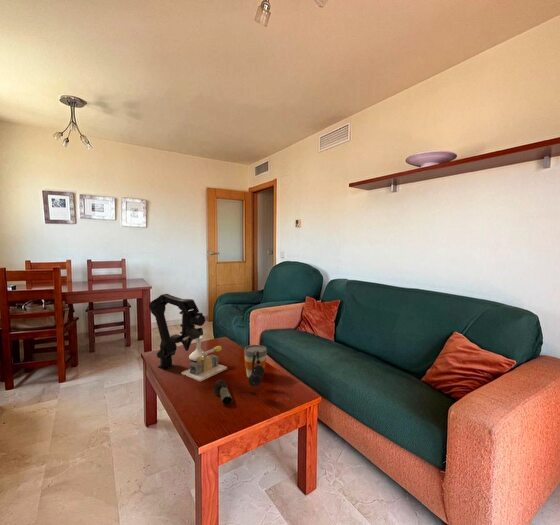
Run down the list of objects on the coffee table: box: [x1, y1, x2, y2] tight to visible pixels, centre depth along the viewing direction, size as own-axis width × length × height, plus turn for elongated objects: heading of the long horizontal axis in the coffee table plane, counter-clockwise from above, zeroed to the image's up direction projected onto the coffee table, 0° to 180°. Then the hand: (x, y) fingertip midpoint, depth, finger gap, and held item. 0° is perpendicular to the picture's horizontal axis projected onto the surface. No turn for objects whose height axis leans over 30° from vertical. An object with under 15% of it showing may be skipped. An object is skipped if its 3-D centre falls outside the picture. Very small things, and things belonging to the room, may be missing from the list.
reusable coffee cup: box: [243, 344, 268, 378], centre depth 162 cm, size 13×13×15 cm
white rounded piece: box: [188, 325, 209, 362], centre depth 181 cm, size 13×11×25 cm
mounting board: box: [181, 363, 228, 383], centre depth 165 cm, size 15×20×1 cm
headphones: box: [239, 351, 265, 399], centre depth 143 cm, size 15×11×20 cm
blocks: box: [189, 354, 219, 376], centre depth 165 cm, size 6×16×7 cm, turn 147°
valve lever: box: [202, 345, 222, 358], centre depth 169 cm, size 14×3×3 cm, turn 147°
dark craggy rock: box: [213, 379, 233, 406], centre depth 139 cm, size 18×7×6 cm, turn 20°
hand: (186, 350), depth 161 cm, fingers closed
